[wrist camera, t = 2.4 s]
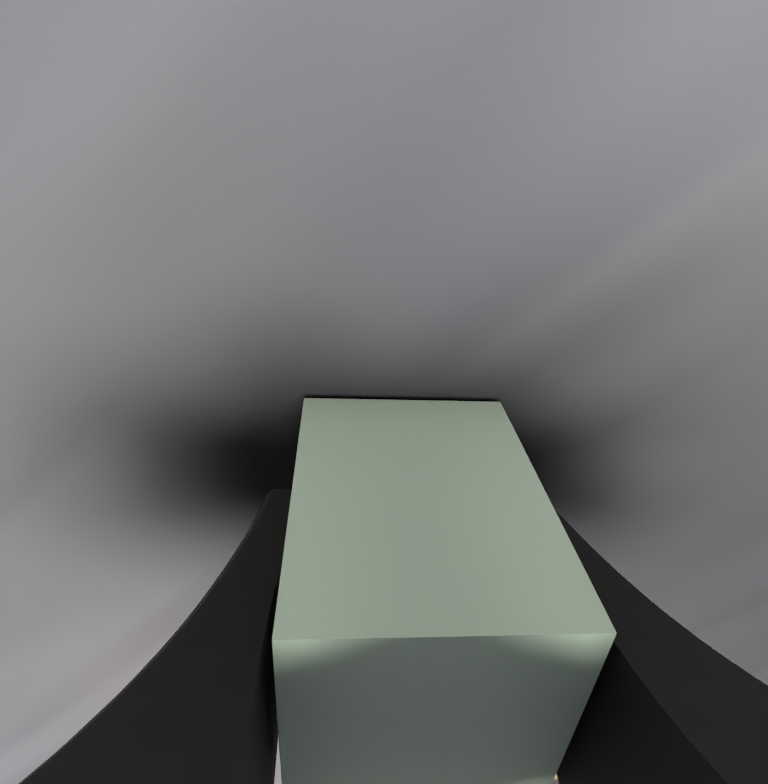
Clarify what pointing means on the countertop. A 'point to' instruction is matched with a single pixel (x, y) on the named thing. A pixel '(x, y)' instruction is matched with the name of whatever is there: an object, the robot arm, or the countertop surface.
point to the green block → (427, 602)
